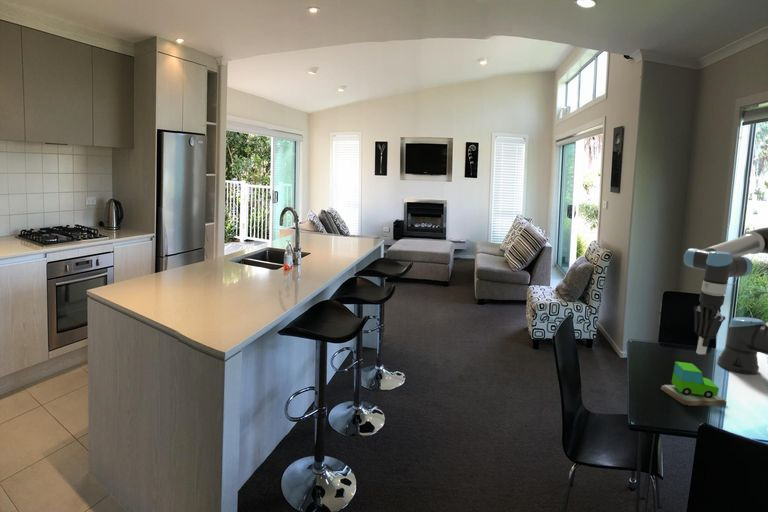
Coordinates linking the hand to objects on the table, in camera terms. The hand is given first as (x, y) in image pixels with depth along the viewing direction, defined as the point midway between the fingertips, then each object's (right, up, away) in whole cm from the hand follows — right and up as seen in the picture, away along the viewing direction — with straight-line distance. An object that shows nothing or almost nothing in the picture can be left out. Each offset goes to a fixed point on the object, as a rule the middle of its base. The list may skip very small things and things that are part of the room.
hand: (700, 353), depth 184 cm
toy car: (-1, -16, +3) cm, 16 cm away
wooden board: (-1, -17, +4) cm, 18 cm away
